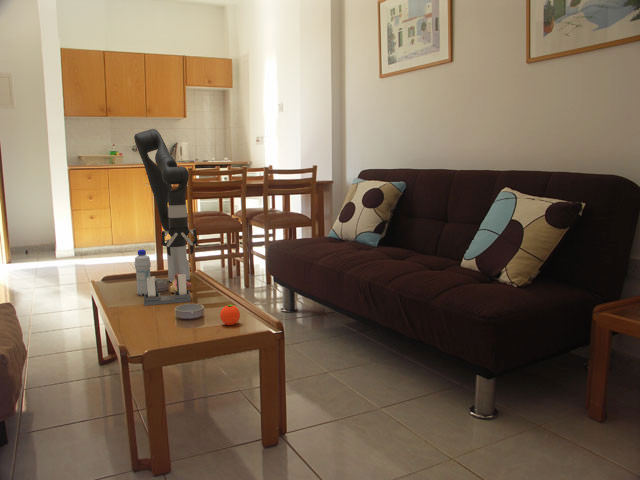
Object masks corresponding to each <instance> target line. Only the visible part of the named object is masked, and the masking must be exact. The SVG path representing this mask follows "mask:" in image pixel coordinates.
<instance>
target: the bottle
mask: <svg viewBox="0 0 640 480" xmlns="http://www.w3.org/2000/svg"><path fill="white" fill-rule="evenodd" d="M146 252H147V251H146V250H145V249H139V250H137V256H136V257H135V258H134V269H135V276H136V292H137V295H138V296H144V295H145V294H148V287H147V277H152V276H151V266H152V265H151V259H150V256H149V255H146V254H147V253H146Z"/></svg>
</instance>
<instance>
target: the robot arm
mask: <svg viewBox="0 0 640 480" xmlns="http://www.w3.org/2000/svg"><path fill="white" fill-rule="evenodd" d="M133 138H134V144H135V146H136V149H137V152H138V153H139V156H140V159H141V161H142V165H143V166H144V170H145V172H146V176H147V179H148V183H149V186H150V188H151V192H152V195H153V197H154V202H155V204H156V207H157V211H158V217H159V221H160V224H161V227H162V229H163V230H162V231H161V246H163V247H166V260H167V272H168V273H167V275H168V277H167V278H168V282H169V281H170V282H169V283H172V282H173V280H175V279H174V276H175V274H176V273H181V274H185V275H186V281H187V282H188V281H189V280H191V279H190V273H191V272H190V261H189V260H188V256H187V255H188V254H187V243H188V244H189V254H190V255H193V253H194V245H196V244H198V233H197V229H196V228H192V229H189V218H188V208H187V200H186V199H187V198H186V197H187V194H186V193H187V189H188V183H189V178H190V174H189V171H188V168H187V167H185V166H178V164H177V162H176V160H175V159H174V157H173V156H172V155H171V153H170V152H169V150H168V147H167V145H166V143H165V141H164V139H163V137H162V135H161V134H160V132H159V131H158V129H156V128H150V129H147V130H144V131H140V132H138V133H135V134H134V136H133ZM154 151H156V153H155V156H154V160H155V162H154V161H153V160H152V159H151V157H149V154H148V153H151V152H154ZM173 185H178V186H177V187H176V188H175V189H173ZM190 234H191V235H192V236H193V240H191V239H190V238H189V235H190ZM168 235H169V236H170V238H169V239H168V240H166V237H168Z"/></svg>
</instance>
